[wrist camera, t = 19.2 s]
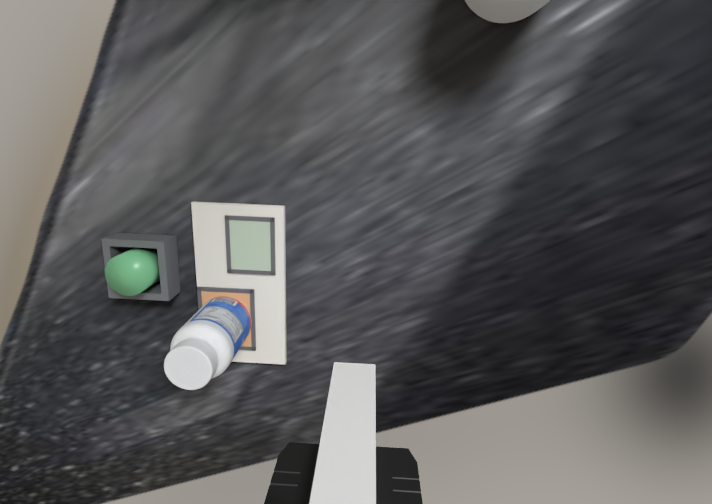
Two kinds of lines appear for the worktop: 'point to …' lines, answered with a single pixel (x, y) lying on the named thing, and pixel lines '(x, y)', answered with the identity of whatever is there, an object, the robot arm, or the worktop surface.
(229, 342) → the pill bottle
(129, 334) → the worktop surface
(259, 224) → the white rectangular board
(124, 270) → the button
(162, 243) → the button frame
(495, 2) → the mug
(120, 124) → the worktop surface
